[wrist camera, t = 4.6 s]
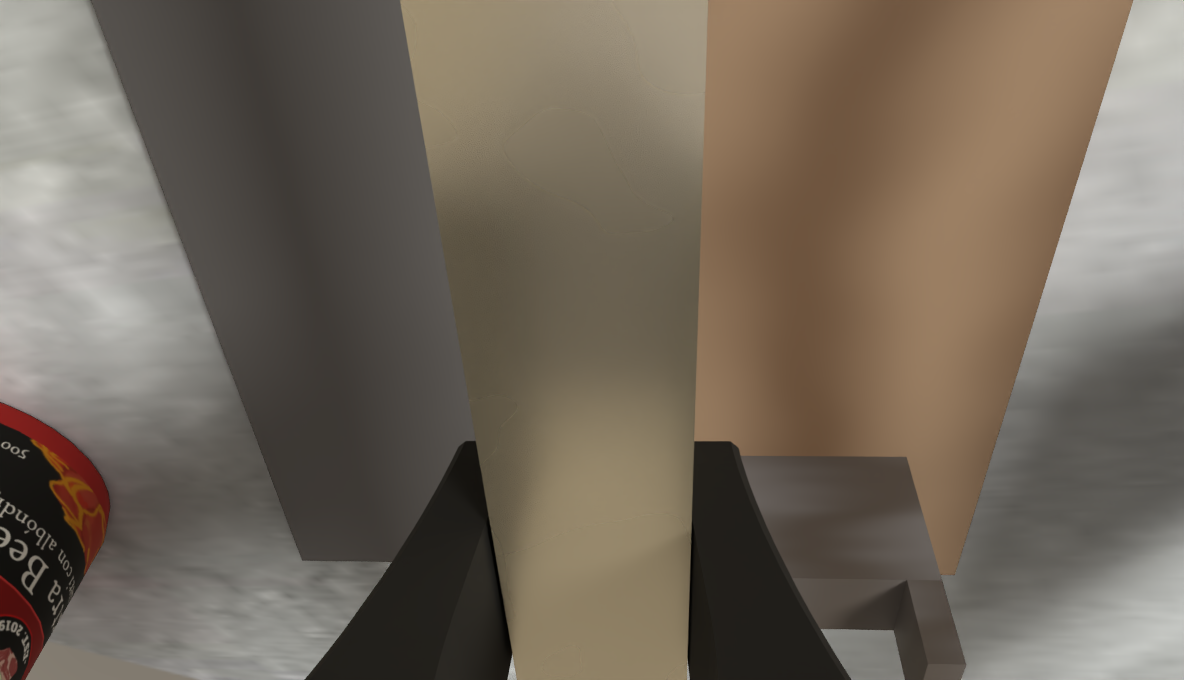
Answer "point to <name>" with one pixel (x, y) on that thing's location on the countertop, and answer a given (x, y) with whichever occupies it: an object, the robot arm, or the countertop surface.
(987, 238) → the rack
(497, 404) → the rail
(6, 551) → the canned food
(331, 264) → the mat
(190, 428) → the countertop surface
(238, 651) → the countertop surface
